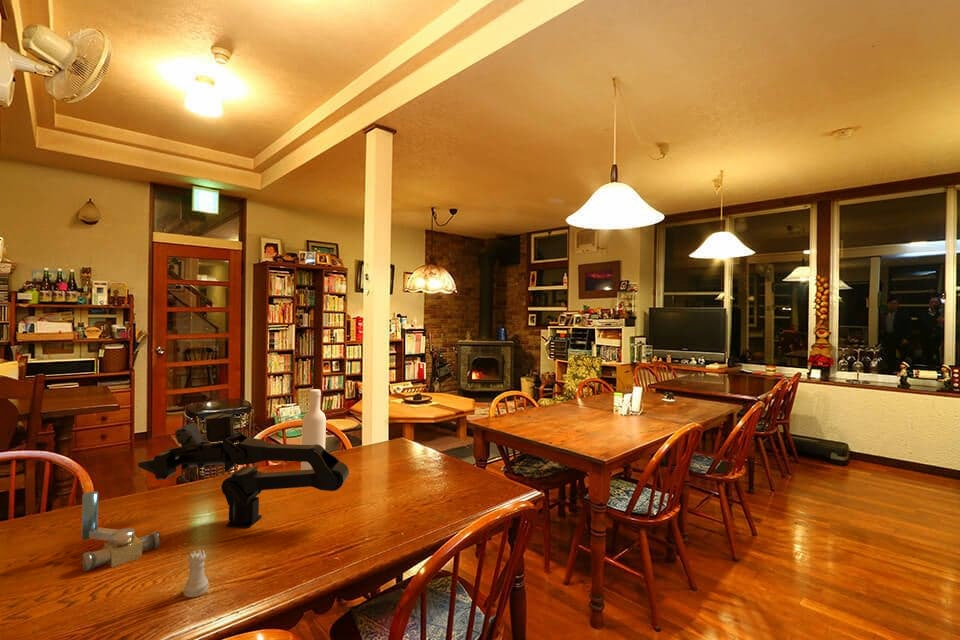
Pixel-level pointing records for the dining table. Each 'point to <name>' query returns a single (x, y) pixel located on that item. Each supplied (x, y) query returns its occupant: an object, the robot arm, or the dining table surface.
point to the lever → (91, 523)
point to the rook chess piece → (196, 575)
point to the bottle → (313, 425)
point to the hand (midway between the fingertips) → (150, 458)
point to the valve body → (120, 551)
